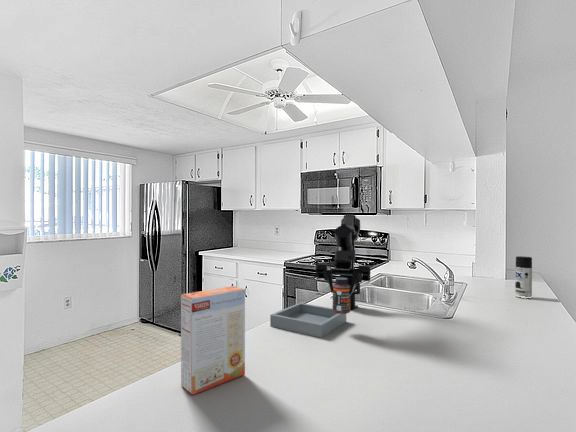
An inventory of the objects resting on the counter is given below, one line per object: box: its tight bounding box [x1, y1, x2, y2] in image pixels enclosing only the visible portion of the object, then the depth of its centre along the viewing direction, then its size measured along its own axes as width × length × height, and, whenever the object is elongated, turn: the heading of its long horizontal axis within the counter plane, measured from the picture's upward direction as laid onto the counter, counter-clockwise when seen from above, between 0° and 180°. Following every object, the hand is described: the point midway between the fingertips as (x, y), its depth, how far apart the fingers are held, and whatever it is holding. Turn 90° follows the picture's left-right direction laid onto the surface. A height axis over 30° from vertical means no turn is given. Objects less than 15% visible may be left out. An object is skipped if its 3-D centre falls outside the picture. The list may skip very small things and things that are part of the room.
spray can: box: [514, 256, 533, 297], centre depth 164 cm, size 7×7×20 cm
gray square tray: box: [269, 302, 347, 338], centre depth 120 cm, size 20×20×4 cm
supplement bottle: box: [332, 276, 351, 315], centre depth 112 cm, size 6×6×11 cm
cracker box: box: [180, 285, 246, 396], centre depth 77 cm, size 14×6×21 cm, turn 133°
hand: (341, 293), depth 111 cm, fingers closed on supplement bottle, 6 cm apart
